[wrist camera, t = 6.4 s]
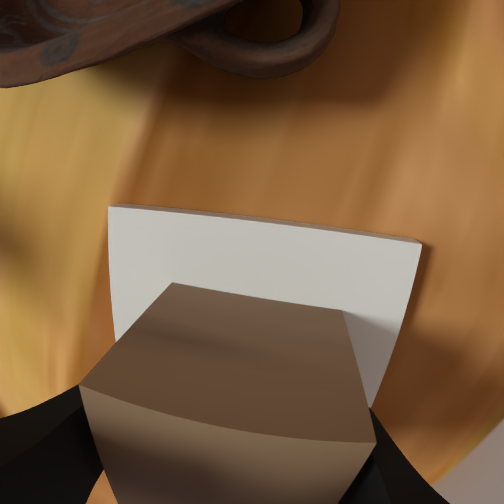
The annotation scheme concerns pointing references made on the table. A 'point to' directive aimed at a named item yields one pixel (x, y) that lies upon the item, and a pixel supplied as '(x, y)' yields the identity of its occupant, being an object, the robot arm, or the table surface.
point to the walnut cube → (229, 403)
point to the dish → (147, 36)
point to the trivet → (266, 270)
